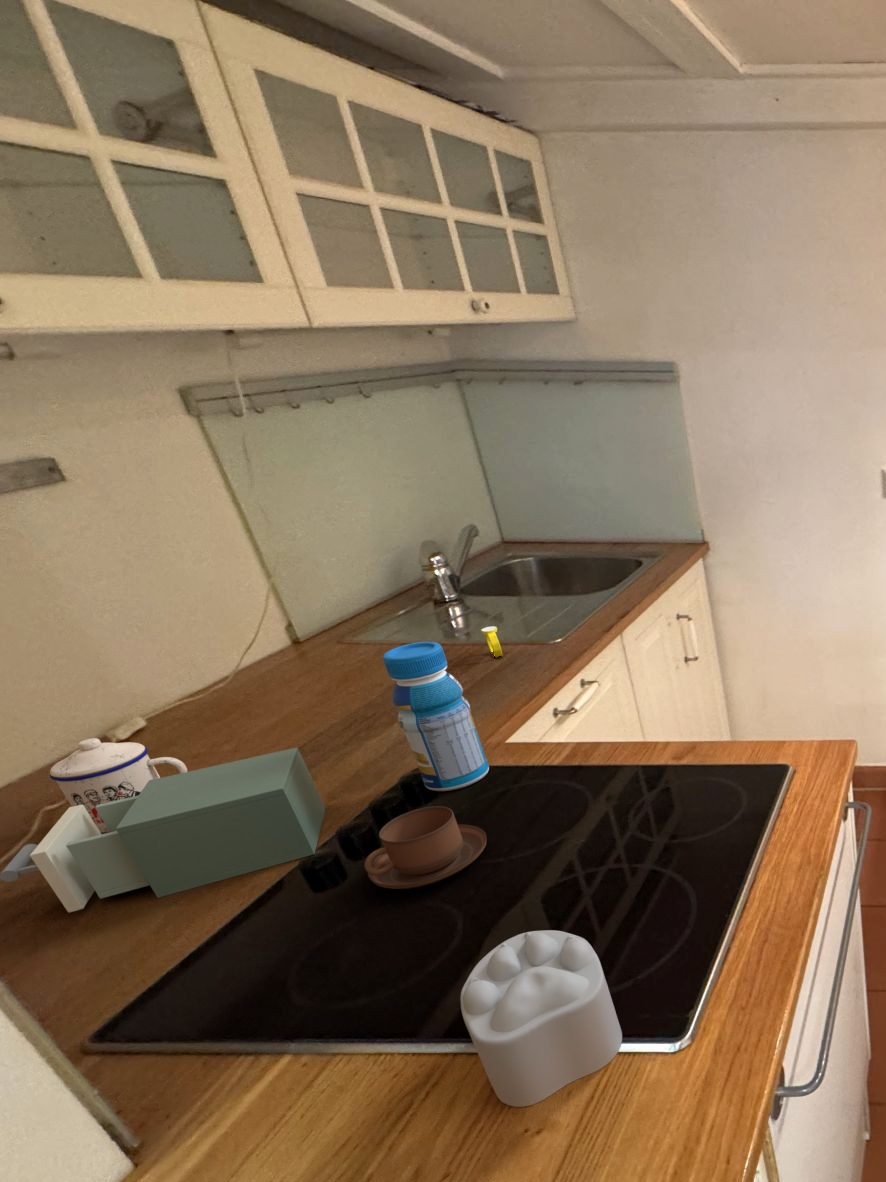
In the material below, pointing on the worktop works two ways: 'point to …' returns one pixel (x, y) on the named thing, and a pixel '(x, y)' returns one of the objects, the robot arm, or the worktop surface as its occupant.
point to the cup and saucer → (423, 849)
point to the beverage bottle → (435, 717)
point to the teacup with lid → (106, 774)
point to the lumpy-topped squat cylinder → (540, 1015)
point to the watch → (492, 640)
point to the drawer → (82, 857)
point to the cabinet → (223, 821)
